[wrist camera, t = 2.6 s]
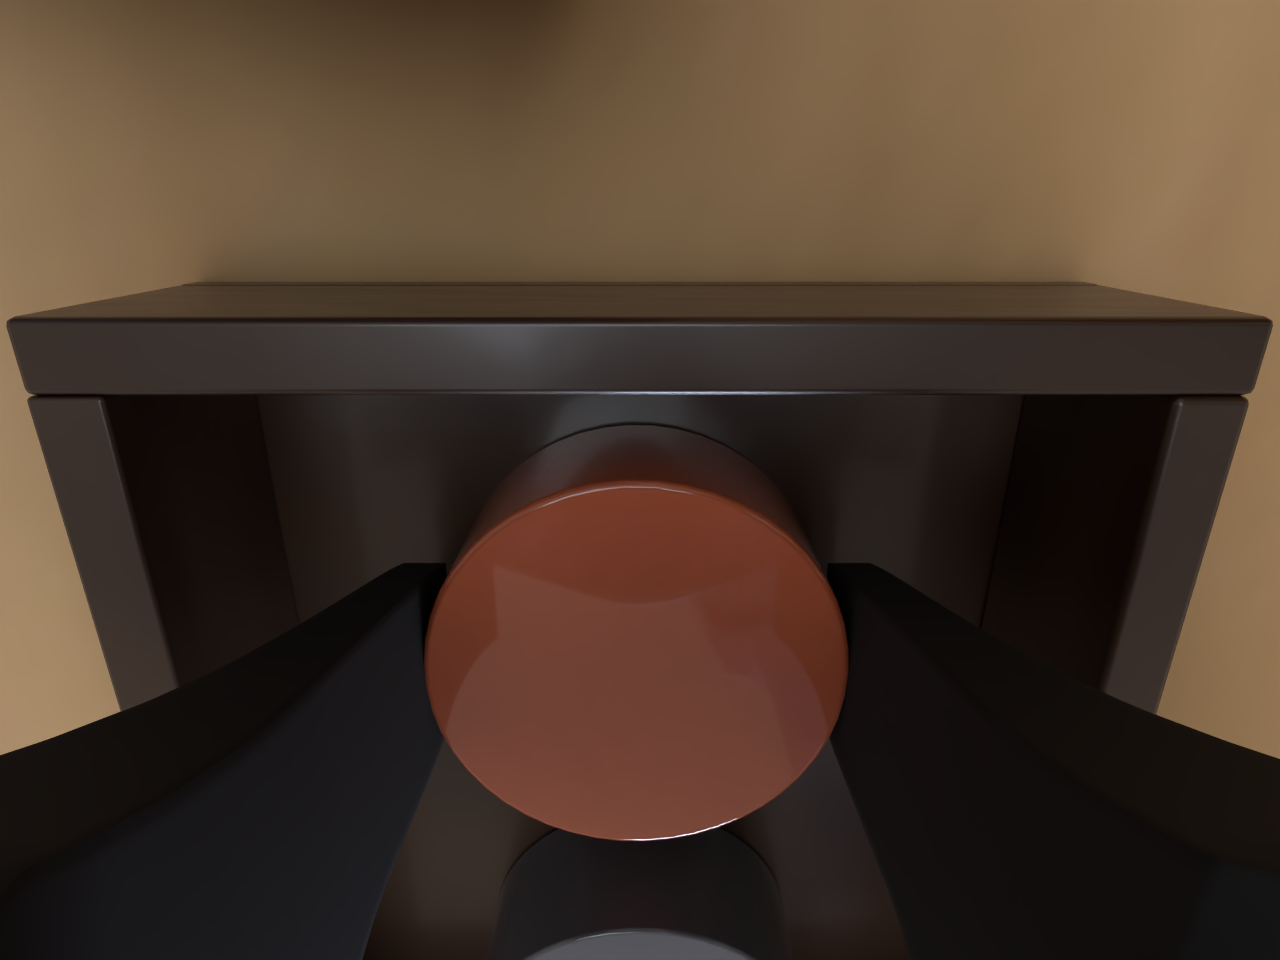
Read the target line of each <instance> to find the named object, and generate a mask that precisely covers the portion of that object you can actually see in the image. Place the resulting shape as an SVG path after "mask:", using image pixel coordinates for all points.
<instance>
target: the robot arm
mask: <svg viewBox="0 0 1280 960" xmlns="http://www.w3.org/2000/svg"><path fill="white" fill-rule="evenodd" d="M446 576H447V570H446V563H403V564H400V565H398V566H396V567H394V568H392V569H390V570H388V571H387V572H385V573H383V574H381V575H380V576H378V577H376V578H375V579H373V580H371V581H370V582H368V583H366V584H365V585H363V586H361V587H360V588H358V589H357V590H355V591H353V592H352V593H350V594H349V595H347V596H345V597H344V598H342V599H340V600H339V601H337V602H336V603H334V604H332V605H331V606H329V607H327V608H326V609H324V610H322V611H321V612H319V613H318V614H316V615H314V616H313V617H311V618H309V619H308V620H306V621H304V622H303V623H301V624H299V625H297V626H296V627H294V628H292V629H290V630H288V631H287V632H285V633H283V634H281V635H280V636H278V637H276V638H274V639H272V640H271V641H269V642H267V643H265V644H263V645H262V646H260V647H258V648H256V649H255V650H253V651H251V652H249V653H247V654H246V655H244V656H242V657H240V658H238V659H236V660H234V661H232V662H230V663H229V664H227V665H225V666H223V667H221V668H219V669H217V670H214V671H212V672H210V673H208V674H206V675H204V676H202V677H200V678H198V679H196V680H194V681H191V682H189V683H187V684H185V685H183V686H180V687H178V688H176V689H174V690H172V691H169V692H167V693H165V694H163V695H161V696H158V697H156V698H154V699H151V700H149V701H147V702H144V703H142V704H139V705H137V706H134V707H132V708H129V709H126V710H124V711H121V712H119V713H116V714H113V715H111V716H108V717H106V718H103V719H100V720H98V721H95V722H93V723H90V724H87V725H85V726H82V727H79V728H77V729H74V730H72V731H69V732H66V733H64V734H61V735H59V736H56V737H53V738H51V739H48V740H45V741H42V742H39V743H36V744H33V745H30V746H27V747H24V748H21V749H18V750H15V751H12V752H9V753H6V754H3V755H0V960H362V959H363V955H364V952H365V948H366V945H367V942H368V938H369V935H370V931H371V928H372V924H373V921H374V918H375V915H376V912H377V910H378V907H379V904H380V901H381V898H382V896H383V893H384V890H385V887H386V884H387V882H388V879H389V877H390V874H391V872H392V869H393V867H394V865H395V862H396V860H397V857H398V855H399V852H400V850H401V847H402V845H403V842H404V840H405V837H406V835H407V832H408V830H409V827H410V825H411V822H412V820H413V817H414V815H415V812H416V810H417V808H418V805H419V803H420V800H421V798H422V795H423V793H424V790H425V788H426V785H427V783H428V780H429V778H430V775H431V772H432V770H433V767H434V765H435V762H436V760H437V757H438V755H439V752H440V749H441V747H442V744H443V741H444V736H443V735H442V733H441V731H440V728H439V726H438V724H437V721H436V719H435V716H434V714H433V712H432V708H431V704H430V701H429V697H428V693H427V689H426V680H425V670H424V641H425V634H426V629H427V625H428V620H429V616H430V612H431V610H432V607H433V605H434V602H435V599H436V597H437V594H438V592H439V589H440V588H441V586H442V584H443V582H444V580H445V578H446ZM827 579H828V581H829V583H830V585H831V587H832V589H833V591H834V593H835V595H836V597H837V600H838V603H839V606H840V609H841V612H842V615H843V617H844V620H845V625H846V631H847V637H848V643H849V672H848V679H847V686H846V694H845V697H844V701H843V704H842V707H841V711H840V714H839V717H838V720H837V722H836V724H835V726H834V728H833V730H832V732H831V734H830V737H829V739H830V742H831V745H832V748H833V750H834V753H835V756H836V758H837V761H838V764H839V766H840V769H841V771H842V774H843V777H844V779H845V782H846V784H847V787H848V790H849V792H850V795H851V797H852V800H853V802H854V805H855V807H856V810H857V812H858V815H859V818H860V820H861V823H862V825H863V828H864V830H865V833H866V835H867V838H868V840H869V843H870V845H871V848H872V850H873V853H874V856H875V858H876V861H877V863H878V866H879V868H880V871H881V873H882V876H883V878H884V881H885V883H886V886H887V889H888V892H889V895H890V898H891V901H892V904H893V906H894V909H895V912H896V915H897V918H898V921H899V925H900V928H901V932H902V935H903V939H904V942H905V946H906V949H907V953H908V956H909V960H1280V759H1278V758H1275V757H1272V756H1269V755H1266V754H1263V753H1260V752H1257V751H1254V750H1251V749H1248V748H1245V747H1242V746H1239V745H1236V744H1233V743H1230V742H1227V741H1224V740H1222V739H1219V738H1216V737H1214V736H1211V735H1208V734H1206V733H1203V732H1200V731H1198V730H1195V729H1192V728H1190V727H1187V726H1184V725H1182V724H1179V723H1176V722H1174V721H1171V720H1168V719H1166V718H1163V717H1160V716H1158V715H1155V714H1153V713H1150V712H1148V711H1145V710H1143V709H1141V708H1138V707H1136V706H1133V705H1131V704H1128V703H1126V702H1124V701H1121V700H1119V699H1117V698H1115V697H1113V696H1111V695H1108V694H1106V693H1104V692H1102V691H1100V690H1097V689H1095V688H1093V687H1091V686H1089V685H1086V684H1084V683H1082V682H1080V681H1078V680H1075V679H1073V678H1071V677H1069V676H1067V675H1065V674H1063V673H1061V672H1059V671H1057V670H1055V669H1053V668H1051V667H1049V666H1047V665H1045V664H1043V663H1041V662H1039V661H1037V660H1035V659H1034V658H1032V657H1030V656H1028V655H1026V654H1024V653H1023V652H1021V651H1019V650H1017V649H1015V648H1013V647H1012V646H1010V645H1008V644H1006V643H1004V642H1002V641H1000V640H999V639H997V638H995V637H994V636H992V635H990V634H988V633H987V632H985V631H983V630H982V629H980V628H978V627H976V626H975V625H973V624H971V623H970V622H968V621H966V620H965V619H963V618H962V617H960V616H958V615H957V614H955V613H953V612H952V611H950V610H948V609H947V608H945V607H944V606H942V605H940V604H939V603H937V602H936V601H934V600H933V599H931V598H929V597H928V596H926V595H925V594H923V593H921V592H920V591H918V590H917V589H915V588H913V587H912V586H910V585H909V584H907V583H905V582H904V581H902V580H901V579H899V578H897V577H896V576H894V575H892V574H891V573H889V572H887V571H885V570H884V569H882V568H880V567H878V566H876V565H874V564H872V563H828V568H827Z"/></svg>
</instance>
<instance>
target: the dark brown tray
mask: <svg viewBox="0 0 1280 960" xmlns="http://www.w3.org/2000/svg"><path fill="white" fill-rule="evenodd" d="M1272 327H1273V324H1272V320H1270V319H1269V318H1266V317H1264V316H1259V315H1254V314H1248V313H1243V312H1238V311H1232V310H1227V309H1222V308H1216V307H1211V306H1206V305H1200V304H1195V303H1190V302H1184V301H1179V300H1174V299H1168V298H1163V297H1158V296H1152V295H1147V294H1142V293H1136V292H1131V291H1126V290H1120V289H1115V288H1109V287H1104V286H1098V285H1096V284H1091V283H1085V282H195V283H189V284H184V285H181V286H176V287H170V288H165V289H160V290H154V291H149V292H144V293H138V294H133V295H128V296H122V297H117V298H112V299H106V300H101V301H96V302H90V303H85V304H80V305H74V306H69V307H64V308H58V309H53V310H48V311H42V312H37V313H32V314H26V315H21V316H16V317H13V318H11V319H9V320H8V321H7V330H8V333H9V336H10V340H11V343H12V346H13V350H14V353H15V356H16V360H17V363H18V366H19V370H20V373H21V376H22V380H23V383H24V386H25V389H26V390H27V392H28V393H30V394H34V396H31V397H29V398H28V405H29V409H30V412H31V415H32V419H33V422H34V425H35V428H36V432H37V435H38V438H39V442H40V445H41V448H42V452H43V455H44V458H45V462H46V465H47V468H48V472H49V475H50V478H51V482H52V485H53V488H54V492H55V495H56V498H57V501H58V505H59V508H60V511H61V515H62V518H63V521H64V525H65V528H66V531H67V535H68V538H69V541H70V545H71V548H72V551H73V555H74V558H75V561H76V565H77V568H78V571H79V574H80V578H81V581H82V584H83V588H84V591H85V594H86V598H87V601H88V604H89V608H90V611H91V614H92V618H93V621H94V624H95V628H96V631H97V634H98V638H99V641H100V644H101V647H102V651H103V654H104V657H105V661H106V664H107V667H108V671H109V674H110V677H111V681H112V684H113V687H114V691H115V694H116V697H117V701H118V704H119V707H120V711H124V710H126V709H129V708H132V707H134V706H137V705H139V704H142V703H144V702H147V701H149V700H151V699H154V698H156V697H158V696H161V695H163V694H165V693H167V692H169V691H172V690H174V689H176V688H178V687H180V686H183V685H185V684H187V683H189V682H191V681H194V680H196V679H198V678H200V677H202V676H204V675H206V674H208V673H210V672H212V671H214V670H217V669H219V668H221V667H223V666H225V665H227V664H229V663H230V662H232V661H234V660H236V659H238V658H240V657H242V656H244V655H246V654H247V653H249V652H251V651H253V650H255V649H256V648H258V647H260V646H262V645H263V644H265V643H267V642H269V641H271V640H272V639H274V638H276V637H278V636H280V635H281V634H283V633H285V632H287V631H288V630H290V629H292V628H294V627H296V626H297V625H299V624H301V623H303V622H304V621H306V620H308V619H309V618H311V617H313V616H314V615H316V614H318V613H319V612H321V611H322V610H324V609H326V608H327V607H329V606H331V605H332V604H334V603H336V602H337V601H339V600H340V599H342V598H344V597H345V596H347V595H349V594H350V593H352V592H353V591H355V590H357V589H358V588H360V587H361V586H363V585H365V584H366V583H368V582H370V581H371V580H373V579H375V578H376V577H378V576H380V575H381V574H383V573H385V572H387V571H388V570H390V569H392V568H394V567H396V566H398V565H400V564H403V563H446V570H447V574H448V572H449V570H450V568H451V566H452V564H453V562H454V560H455V558H456V556H457V555H458V553H459V551H460V549H461V547H462V545H463V543H464V541H465V539H466V537H467V535H468V533H469V531H470V529H471V527H472V525H473V523H474V521H475V520H476V518H477V516H478V514H479V513H480V511H481V509H482V507H483V506H484V504H485V502H486V500H487V499H488V498H489V496H490V495H491V494H492V493H493V491H494V490H495V489H496V488H497V486H498V485H499V484H500V483H501V482H502V481H503V480H504V479H505V478H506V477H507V476H508V475H509V474H510V473H511V472H512V471H513V470H514V469H515V468H516V467H517V466H519V465H520V464H522V463H523V462H524V461H526V460H527V459H528V458H530V457H531V456H533V455H534V454H535V453H537V452H539V451H541V450H543V449H545V448H546V447H548V446H550V445H552V444H554V443H556V442H558V441H561V440H563V439H566V438H568V437H571V436H574V435H576V434H579V433H583V432H587V431H591V430H596V429H600V428H605V427H614V426H624V425H653V426H660V427H667V428H674V429H679V430H683V431H686V432H690V433H693V434H697V435H701V436H703V437H706V438H708V439H710V440H713V441H715V442H717V443H720V444H722V445H724V446H726V447H728V448H729V449H731V450H733V451H734V452H736V453H738V454H739V455H741V456H743V457H744V458H746V459H747V460H748V461H750V462H751V463H752V464H753V465H755V466H756V467H757V468H758V469H760V470H761V471H762V472H763V473H764V474H765V475H766V476H767V477H768V478H769V479H770V480H771V481H772V482H773V483H774V484H775V485H776V486H777V487H778V489H779V490H780V491H781V493H782V494H783V496H784V497H785V498H786V500H787V501H788V502H789V504H790V505H791V507H792V509H793V511H794V513H795V515H796V517H797V519H798V520H799V522H800V524H801V526H802V528H803V530H804V532H805V534H806V536H807V538H808V540H809V542H810V545H811V547H812V549H813V551H814V553H815V555H816V557H817V559H818V561H819V563H820V565H821V567H822V569H823V571H824V573H825V575H826V577H827V568H828V563H872V564H874V565H876V566H878V567H880V568H882V569H884V570H885V571H887V572H889V573H891V574H892V575H894V576H896V577H897V578H899V579H901V580H902V581H904V582H905V583H907V584H909V585H910V586H912V587H913V588H915V589H917V590H918V591H920V592H921V593H923V594H925V595H926V596H928V597H929V598H931V599H933V600H934V601H936V602H937V603H939V604H940V605H942V606H944V607H945V608H947V609H948V610H950V611H952V612H953V613H955V614H957V615H958V616H960V617H962V618H963V619H965V620H966V621H968V622H970V623H971V624H973V625H975V626H976V627H978V628H980V629H982V630H983V631H985V632H987V633H988V634H990V635H992V636H994V637H995V638H997V639H999V640H1000V641H1002V642H1004V643H1006V644H1008V645H1010V646H1012V647H1013V648H1015V649H1017V650H1019V651H1021V652H1023V653H1024V654H1026V655H1028V656H1030V657H1032V658H1034V659H1035V660H1037V661H1039V662H1041V663H1043V664H1045V665H1047V666H1049V667H1051V668H1053V669H1055V670H1057V671H1059V672H1061V673H1063V674H1065V675H1067V676H1069V677H1071V678H1073V679H1075V680H1078V681H1080V682H1082V683H1084V684H1086V685H1089V686H1091V687H1093V688H1095V689H1097V690H1100V691H1102V692H1104V693H1106V694H1108V695H1111V696H1113V697H1115V698H1117V699H1119V700H1121V701H1124V702H1126V703H1128V704H1131V705H1133V706H1136V707H1138V708H1141V709H1143V710H1145V711H1148V712H1150V713H1153V714H1155V715H1156V712H1157V709H1158V706H1159V702H1160V699H1161V696H1162V692H1163V689H1164V686H1165V682H1166V679H1167V676H1168V672H1169V669H1170V666H1171V662H1172V659H1173V656H1174V652H1175V649H1176V646H1177V642H1178V639H1179V636H1180V632H1181V629H1182V626H1183V622H1184V619H1185V616H1186V612H1187V609H1188V606H1189V602H1190V599H1191V596H1192V592H1193V589H1194V586H1195V582H1196V579H1197V576H1198V572H1199V569H1200V566H1201V562H1202V559H1203V556H1204V552H1205V549H1206V545H1207V542H1208V539H1209V535H1210V532H1211V529H1212V525H1213V522H1214V519H1215V515H1216V512H1217V509H1218V505H1219V502H1220V499H1221V495H1222V492H1223V489H1224V485H1225V482H1226V479H1227V475H1228V472H1229V469H1230V465H1231V462H1232V459H1233V455H1234V452H1235V449H1236V445H1237V442H1238V439H1239V435H1240V432H1241V429H1242V425H1243V422H1244V419H1245V415H1246V412H1247V409H1248V399H1247V398H1246V397H1243V396H1241V395H1244V394H1248V393H1251V392H1252V390H1253V389H1254V387H1255V384H1256V380H1257V377H1258V374H1259V370H1260V367H1261V364H1262V360H1263V357H1264V354H1265V350H1266V347H1267V344H1268V340H1269V337H1270V334H1271V330H1272ZM720 828H722V829H724V830H726V831H728V832H729V833H731V834H732V835H734V836H736V837H737V838H739V839H740V840H742V841H743V842H744V843H745V844H746V845H747V846H749V847H750V848H751V849H752V850H753V851H754V852H755V853H756V854H757V855H758V856H759V857H760V858H761V860H762V861H763V862H764V863H765V864H766V866H767V867H768V869H769V870H770V872H771V874H772V875H773V877H774V879H775V881H776V883H777V886H778V888H779V891H780V895H781V899H782V903H783V908H784V913H785V918H786V923H787V928H788V933H789V938H790V942H791V947H792V952H793V957H794V960H909V956H908V953H907V949H906V946H905V942H904V939H903V935H902V932H901V928H900V925H899V921H898V918H897V915H896V912H895V909H894V906H893V904H892V901H891V898H890V895H889V892H888V889H887V886H886V883H885V881H884V878H883V876H882V873H881V871H880V868H879V866H878V863H877V861H876V858H875V856H874V853H873V850H872V848H871V845H870V843H869V840H868V838H867V835H866V833H865V830H864V828H863V825H862V823H861V820H860V818H859V815H858V812H857V810H856V807H855V805H854V802H853V800H852V797H851V795H850V792H849V790H848V787H847V784H846V782H845V779H844V777H843V774H842V771H841V769H840V766H839V764H838V761H837V758H836V756H835V753H834V750H833V748H832V745H831V742H830V739H828V740H827V742H826V743H825V745H824V746H823V748H822V749H821V751H820V753H819V754H818V756H817V757H816V759H815V760H814V761H813V762H812V763H811V764H810V766H809V767H808V768H807V769H806V770H805V771H804V773H803V774H802V775H801V776H800V777H799V778H798V779H797V780H796V781H795V782H793V783H792V784H791V785H790V786H789V787H788V788H787V789H786V790H785V791H783V792H782V793H781V794H779V795H778V796H777V797H775V798H774V799H772V800H771V801H770V802H768V803H767V804H765V805H764V806H762V807H761V808H759V809H757V810H755V811H753V812H751V813H750V814H748V815H746V816H744V817H742V818H740V819H738V820H735V821H733V822H731V823H728V824H726V825H723V826H721V827H720ZM556 829H558V828H556V827H553V826H550V825H547V824H545V823H543V822H540V821H538V820H536V819H534V818H532V817H529V816H527V815H525V814H523V813H522V812H520V811H518V810H517V809H515V808H513V807H511V806H510V805H508V804H506V803H505V802H503V801H502V800H501V799H499V798H498V797H497V796H495V795H494V794H493V793H491V792H490V791H489V790H488V789H486V788H485V787H484V786H483V785H482V784H481V783H480V782H479V781H478V780H477V779H476V778H475V777H474V776H473V775H472V774H471V773H470V772H469V771H468V770H467V769H466V768H465V767H464V765H463V764H462V763H461V762H460V760H459V759H458V758H457V757H456V755H455V754H454V753H453V751H452V750H451V748H450V746H449V745H448V743H447V741H446V740H445V738H444V741H443V744H442V747H441V749H440V752H439V755H438V757H437V760H436V762H435V765H434V767H433V770H432V772H431V775H430V778H429V780H428V783H427V785H426V788H425V790H424V793H423V795H422V798H421V800H420V803H419V805H418V808H417V810H416V812H415V815H414V817H413V820H412V822H411V825H410V827H409V830H408V832H407V835H406V837H405V840H404V842H403V845H402V847H401V850H400V852H399V855H398V857H397V860H396V862H395V865H394V867H393V869H392V872H391V874H390V877H389V879H388V882H387V884H386V887H385V890H384V893H383V896H382V898H381V901H380V904H379V907H378V910H377V912H376V915H375V918H374V921H373V924H372V928H371V931H370V935H369V938H368V942H367V945H366V948H365V952H364V955H363V959H362V960H486V958H487V953H488V948H489V943H490V938H491V933H492V928H493V923H494V918H495V913H496V908H497V903H498V899H499V895H500V892H501V889H502V885H503V884H504V882H505V880H506V878H507V876H508V874H509V872H510V870H511V869H512V868H513V866H514V865H515V864H516V862H517V861H518V860H519V858H520V857H521V856H522V855H523V854H524V853H525V852H526V851H527V850H528V849H529V848H530V847H531V846H532V845H534V844H535V843H536V842H538V841H539V840H540V839H542V838H543V837H544V836H546V835H548V834H549V833H551V832H553V831H555V830H556Z"/></svg>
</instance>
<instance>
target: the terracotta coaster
mask: <svg viewBox="0 0 1280 960" xmlns="http://www.w3.org/2000/svg"><path fill="white" fill-rule="evenodd" d="M424 670H425V680H426V689H427V693H428V697H429V701H430V704H431V708H432V712H433V714H434V716H435V719H436V721H437V724H438V726H439V728H440V731H441V733H442V735H443V736H444V738H445V740H446V741H447V743H448V745H449V746H450V748H451V750H452V751H453V753H454V754H455V755H456V757H457V758H458V759H459V760H460V762H461V763H462V764H463V765H464V767H465V768H466V769H467V770H468V771H469V772H470V773H471V774H472V775H473V776H474V777H475V778H476V779H477V780H478V781H479V782H480V783H481V784H482V785H483V786H484V787H485V788H486V789H488V790H489V791H490V792H491V793H493V794H494V795H495V796H497V797H498V798H499V799H501V800H502V801H503V802H505V803H506V804H508V805H510V806H511V807H513V808H515V809H517V810H518V811H520V812H522V813H523V814H525V815H527V816H529V817H532V818H534V819H536V820H538V821H540V822H543V823H545V824H547V825H550V826H553V827H556V828H559V829H562V830H565V831H568V832H571V833H575V834H580V835H585V836H589V837H594V838H601V839H609V840H618V841H653V840H665V839H673V838H679V837H684V836H689V835H695V834H698V833H702V832H705V831H708V830H712V829H715V828H719V827H721V826H723V825H726V824H728V823H731V822H733V821H735V820H738V819H740V818H742V817H744V816H746V815H748V814H750V813H751V812H753V811H755V810H757V809H759V808H761V807H762V806H764V805H765V804H767V803H768V802H770V801H771V800H772V799H774V798H775V797H777V796H778V795H779V794H781V793H782V792H783V791H785V790H786V789H787V788H788V787H789V786H790V785H791V784H792V783H793V782H795V781H796V780H797V779H798V778H799V777H800V776H801V775H802V774H803V773H804V771H805V770H806V769H807V768H808V767H809V766H810V764H811V763H812V762H813V761H814V760H815V759H816V757H817V756H818V754H819V753H820V751H821V749H822V748H823V746H824V745H825V743H826V742H827V740H828V739H829V737H830V734H831V732H832V730H833V728H834V726H835V724H836V722H837V720H838V717H839V714H840V711H841V707H842V704H843V701H844V697H845V694H846V686H847V679H848V672H849V643H848V637H847V631H846V625H845V620H844V617H843V615H842V612H841V609H840V606H839V603H838V600H837V597H836V595H835V593H834V591H833V589H832V587H831V585H830V583H829V581H828V579H827V577H826V575H825V573H824V571H823V569H822V567H821V565H820V563H819V561H818V559H817V557H816V555H815V553H814V551H813V549H812V547H811V545H810V542H809V540H808V538H807V536H806V534H805V532H804V530H803V528H802V526H801V524H800V522H799V520H798V519H797V517H796V515H795V513H794V511H793V509H792V507H791V505H790V504H789V502H788V501H787V500H786V498H785V497H784V496H783V494H782V493H781V491H780V490H779V489H778V487H777V486H776V485H775V484H774V483H773V482H772V481H771V480H770V479H769V478H768V477H767V476H766V475H765V474H764V473H763V472H762V471H761V470H760V469H758V468H757V467H756V466H755V465H753V464H752V463H751V462H750V461H748V460H747V459H746V458H744V457H743V456H741V455H739V454H738V453H736V452H734V451H733V450H731V449H729V448H728V447H726V446H724V445H722V444H720V443H717V442H715V441H713V440H710V439H708V438H706V437H703V436H701V435H697V434H693V433H690V432H686V431H683V430H679V429H674V428H667V427H660V426H653V425H624V426H614V427H605V428H600V429H596V430H591V431H587V432H583V433H579V434H576V435H574V436H571V437H568V438H566V439H563V440H561V441H558V442H556V443H554V444H552V445H550V446H548V447H546V448H545V449H543V450H541V451H539V452H537V453H535V454H534V455H533V456H531V457H530V458H528V459H527V460H526V461H524V462H523V463H522V464H520V465H519V466H517V467H516V468H515V469H514V470H513V471H512V472H511V473H510V474H509V475H508V476H507V477H506V478H505V479H504V480H503V481H502V482H501V483H500V484H499V485H498V486H497V488H496V489H495V490H494V491H493V493H492V494H491V495H490V496H489V498H488V499H487V500H486V502H485V504H484V506H483V507H482V509H481V511H480V513H479V514H478V516H477V518H476V520H475V521H474V523H473V525H472V527H471V529H470V531H469V533H468V535H467V537H466V539H465V541H464V543H463V545H462V547H461V549H460V551H459V553H458V555H457V556H456V558H455V560H454V562H453V564H452V566H451V568H450V570H449V572H448V574H447V576H446V578H445V580H444V582H443V584H442V586H441V588H440V589H439V592H438V594H437V597H436V599H435V602H434V605H433V607H432V610H431V612H430V616H429V620H428V625H427V629H426V634H425V641H424Z"/></svg>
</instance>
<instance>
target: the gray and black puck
mask: <svg viewBox="0 0 1280 960" xmlns="http://www.w3.org/2000/svg"><path fill="white" fill-rule="evenodd" d="M486 960H794V957H793V952H792V947H791V942H790V938H789V933H788V928H787V923H786V918H785V913H784V908H783V903H782V899H781V895H780V891H779V888H778V886H777V883H776V881H775V879H774V877H773V875H772V874H771V872H770V870H769V869H768V867H767V866H766V864H765V863H764V862H763V861H762V860H761V858H760V857H759V856H758V855H757V854H756V853H755V852H754V851H753V850H752V849H751V848H750V847H749V846H747V845H746V844H745V843H744V842H743V841H742V840H740V839H739V838H737V837H736V836H734V835H732V834H731V833H729V832H728V831H726V830H724V829H722V828H720V827H719V828H715V829H712V830H708V831H705V832H702V833H698V834H695V835H689V836H684V837H679V838H673V839H665V840H653V841H618V840H609V839H601V838H594V837H589V836H585V835H580V834H575V833H571V832H568V831H565V830H562V829H559V828H558V829H556V830H555V831H553V832H551V833H549V834H548V835H546V836H544V837H543V838H542V839H540V840H539V841H538V842H536V843H535V844H534V845H532V846H531V847H530V848H529V849H528V850H527V851H526V852H525V853H524V854H523V855H522V856H521V857H520V858H519V860H518V861H517V862H516V864H515V865H514V866H513V868H512V869H511V870H510V872H509V874H508V876H507V878H506V880H505V882H504V884H503V885H502V889H501V892H500V895H499V899H498V903H497V908H496V913H495V918H494V923H493V928H492V933H491V938H490V943H489V948H488V953H487V958H486Z"/></svg>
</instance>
